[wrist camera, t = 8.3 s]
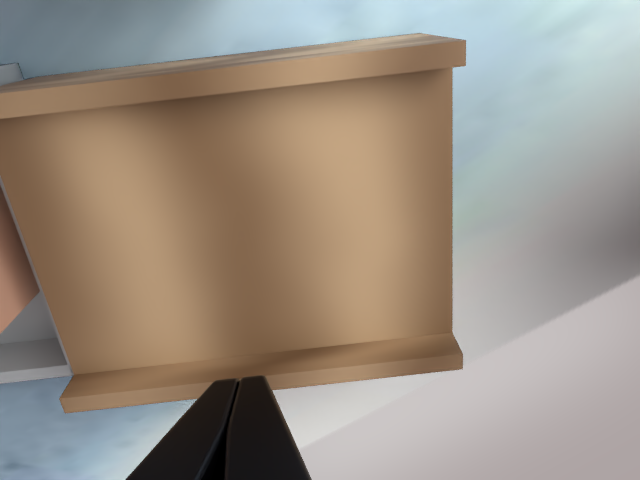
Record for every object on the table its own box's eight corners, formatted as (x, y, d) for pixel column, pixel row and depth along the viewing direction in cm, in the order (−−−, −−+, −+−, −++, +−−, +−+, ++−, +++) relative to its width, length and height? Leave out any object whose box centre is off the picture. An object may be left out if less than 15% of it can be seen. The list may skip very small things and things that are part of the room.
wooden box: (419, 33, 17) (465, 40, 13) (425, 290, 21) (462, 368, 17) (38, 76, 17) (-59, 100, 13) (116, 324, 21) (64, 413, 17)
